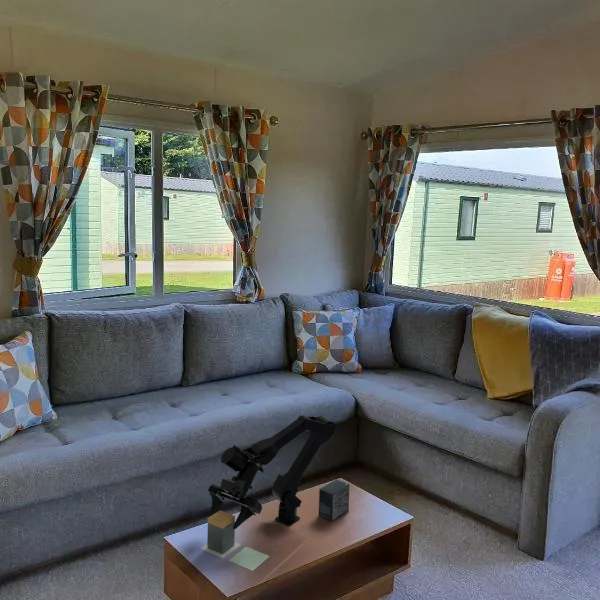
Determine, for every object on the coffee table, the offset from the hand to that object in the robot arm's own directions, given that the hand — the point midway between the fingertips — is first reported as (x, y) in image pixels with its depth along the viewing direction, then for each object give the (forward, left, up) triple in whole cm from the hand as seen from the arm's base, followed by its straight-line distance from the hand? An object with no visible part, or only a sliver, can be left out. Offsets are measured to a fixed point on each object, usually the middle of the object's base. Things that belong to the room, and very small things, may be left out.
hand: (222, 524), depth 184 cm
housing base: (+1, 0, -7) cm, 7 cm away
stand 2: (0, +11, -8) cm, 14 cm away
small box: (-41, +15, -8) cm, 45 cm away
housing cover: (+1, 0, +1) cm, 1 cm away
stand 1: (+1, 0, -8) cm, 8 cm away
